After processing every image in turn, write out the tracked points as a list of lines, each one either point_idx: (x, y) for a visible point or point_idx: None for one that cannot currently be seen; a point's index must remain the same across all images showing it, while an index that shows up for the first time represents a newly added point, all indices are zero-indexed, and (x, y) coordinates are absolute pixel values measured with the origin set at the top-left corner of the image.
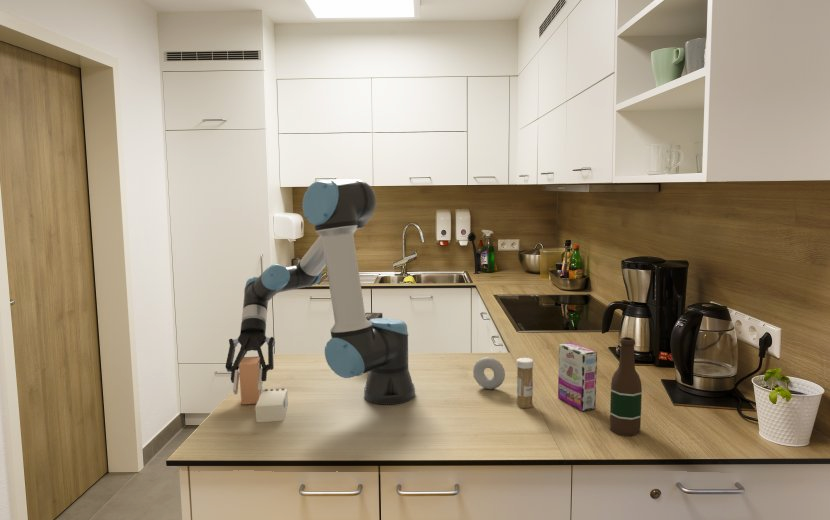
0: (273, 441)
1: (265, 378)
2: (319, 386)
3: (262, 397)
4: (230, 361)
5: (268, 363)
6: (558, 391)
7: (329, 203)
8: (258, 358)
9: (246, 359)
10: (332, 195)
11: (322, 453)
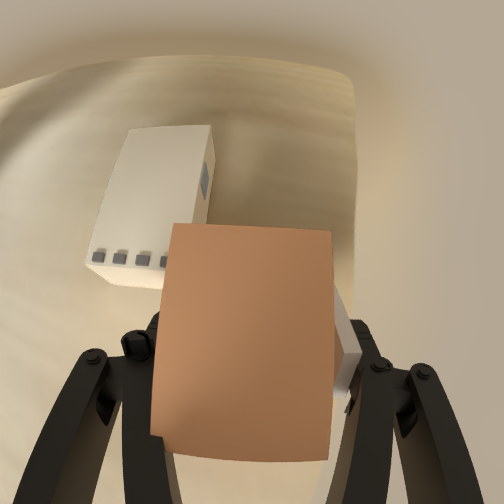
0: (179, 86)
1: (156, 316)
2: (24, 411)
3: (185, 188)
4: (423, 404)
5: (102, 368)
6: None
7: None
8: (161, 384)
9: (286, 381)
10: None
11: (113, 66)
